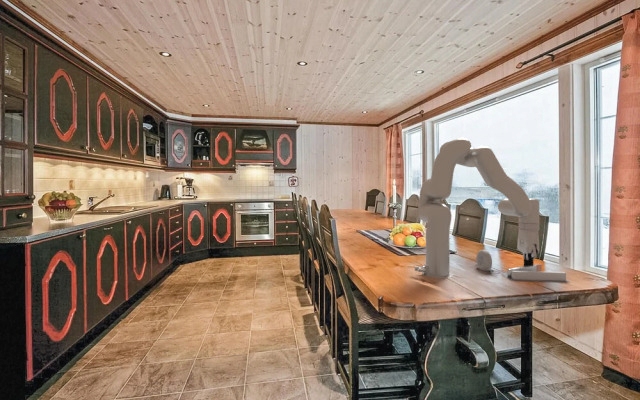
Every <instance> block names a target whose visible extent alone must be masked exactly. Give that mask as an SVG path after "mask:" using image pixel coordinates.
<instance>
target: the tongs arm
mask: <svg viewBox="0 0 640 400" xmlns="http://www.w3.org/2000/svg"><path fill="white" fill-rule="evenodd" d="M542 269H543V268H542V263H533V265H527V266H524V265H522V266H517V267H512V268H507V269H506V271H507V272H506V273H507V277H512V271H542ZM507 277H506V278H507Z"/></svg>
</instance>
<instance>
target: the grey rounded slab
mask: <svg viewBox="0 0 640 400" xmlns="http://www.w3.org/2000/svg"><path fill="white" fill-rule="evenodd" d="M475 259H476V260H475V261H476V265H477V268H478V269H479V270H480V271H483V272H489V271H490V270H491V269H492V267H493V258H492V255H491V253H490V252H489V251H488V250H487V249H480V250H479V251H478V252H477V253H476V258H475Z"/></svg>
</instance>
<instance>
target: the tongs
mask: <svg viewBox="0 0 640 400" xmlns="http://www.w3.org/2000/svg"><path fill="white" fill-rule="evenodd" d="M499 274H501V276H503V277H505V278H507V279H509V280H510V281H511V282H514V281H515V282H516V281H517V282H540V283H541V282H545V283H546V282H548V283H549V282H550V283H570V281H569V280H567V272H564V271H545V270H544V271H543V270H541V271H512V277H507V272H500V271H499Z"/></svg>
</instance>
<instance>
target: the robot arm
mask: <svg viewBox="0 0 640 400" xmlns="http://www.w3.org/2000/svg"><path fill="white" fill-rule="evenodd" d="M456 165H459V166H463V167H467V168H476V170H477V171H478V172H479V174H480V176H481V178H482V179H483V181H484V183H485V184H486V186H488V187H489V188H491V189H493V190H495V191H498V192H499V193H501V194H502V195H503V196H504V197H506V198H503V199H502V200H500V201H499V202H498V204H497V209H498V211H499V213H501V214H503V215H505V216H509V217H518V232H517V233H518V234H517V241H516V242H517V243H516V244H517V245H516V246H517V247H516V249H517V250H518V251H519V252H521V254H522V255H523V256H522V258H523V266H527V265H533V264H534V261H535V258H537V255H538V254H539V253H540V236H539V231H540V200H539V199H537V198H530V197H529V196H528V195H527V193H526V191H525V190H524V189H523V188H522V186H521V185H520V184H518V183H517V182H516V181H515V180H513V178H511V177H510V176H509V175H507V173H506V172H505V170H504V168H503V167H502V165H501V163H500V161H499V160H498V158H497V156H496V155H495V152H494V151H493V150H492V149H491V147H488V146H483V145H482V146H477V147H472V143H471V141H470V140H469V139H468V138H464V137H461V138H460V137H459V138H456V139H453V140H450V141H447V142H444V143H443V144H442V145H441V146H440V147H439V151H438V154H437V155H436V157H435V159H434V162H433V165H432V170H431V171H432V172H431V177H430V178H428V179H426V180H425V181H424V182H423V183H422V184H421V187H420V190H419V191H420V192H419V199H418V208H417V213H418V214H417V215H418V217H419V219H420V220H421V221H422V222H423V223H425V224H427V225H426V229H425V263H423V265H422V266H416V265H415V266H414V271H415V272H418V273H421V274H422V275H423V276H425V277H428V278H434V279H446V278H447V279H449V278H452V277H454V274H453V273H452V272H450V232H451V231H450V230H451V223H452V212H451V209H450V208H449V207H448V206H447V205H446V204H445V203H441V202H440V200H441V201H443V200H447V199H448V198H449V197H450V196H451V194H452V188H453V186H452V185H453V178H454V173H455V167H456Z"/></svg>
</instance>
